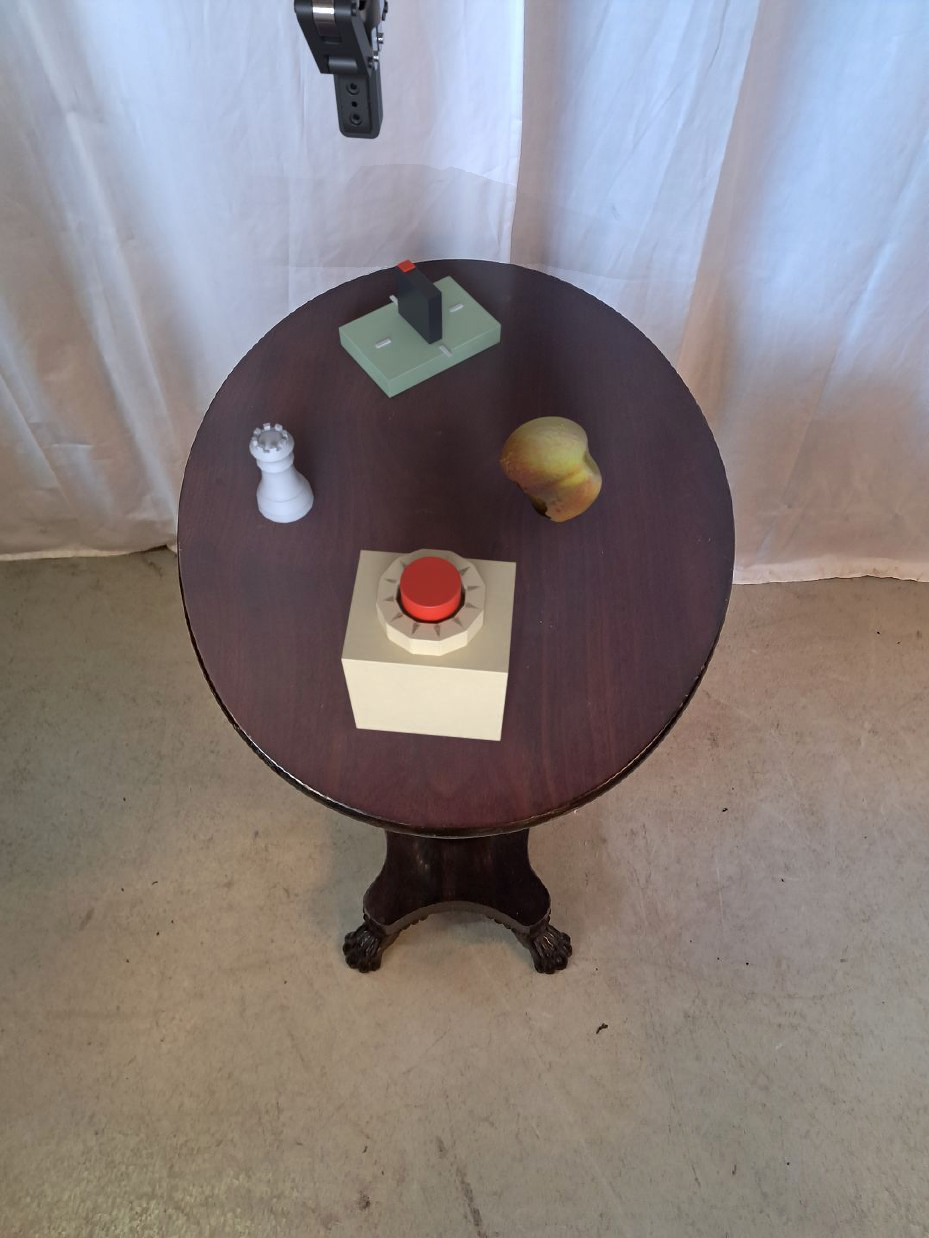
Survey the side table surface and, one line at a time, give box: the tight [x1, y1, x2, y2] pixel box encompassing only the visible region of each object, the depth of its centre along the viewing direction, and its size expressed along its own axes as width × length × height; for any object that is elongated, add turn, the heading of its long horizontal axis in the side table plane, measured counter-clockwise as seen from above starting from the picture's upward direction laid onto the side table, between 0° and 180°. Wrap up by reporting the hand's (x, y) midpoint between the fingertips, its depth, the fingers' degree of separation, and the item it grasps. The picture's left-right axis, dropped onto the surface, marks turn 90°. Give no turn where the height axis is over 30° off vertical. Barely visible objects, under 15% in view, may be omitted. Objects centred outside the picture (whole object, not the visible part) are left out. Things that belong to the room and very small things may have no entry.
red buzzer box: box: [340, 548, 517, 742], centre depth 60 cm, size 10×8×12 cm
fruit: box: [498, 416, 603, 523], centre depth 70 cm, size 8×8×8 cm
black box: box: [394, 259, 442, 344], centre depth 78 cm, size 5×1×5 cm, turn 36°
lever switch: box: [338, 275, 502, 398], centre depth 81 cm, size 12×9×2 cm
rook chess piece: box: [248, 422, 315, 524], centre depth 70 cm, size 4×4×8 cm
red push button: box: [400, 557, 461, 622], centre depth 54 cm, size 4×4×2 cm
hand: (362, 130), depth 50 cm, fingers closed
